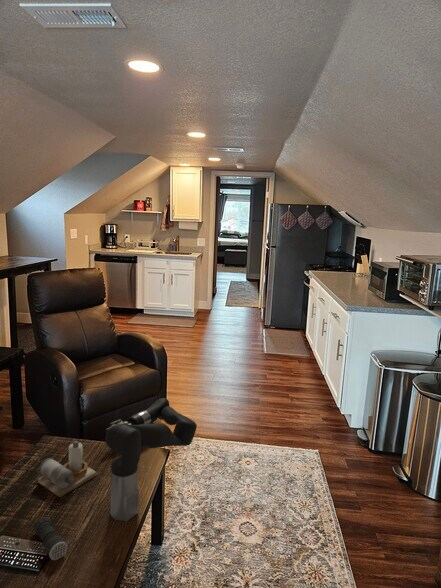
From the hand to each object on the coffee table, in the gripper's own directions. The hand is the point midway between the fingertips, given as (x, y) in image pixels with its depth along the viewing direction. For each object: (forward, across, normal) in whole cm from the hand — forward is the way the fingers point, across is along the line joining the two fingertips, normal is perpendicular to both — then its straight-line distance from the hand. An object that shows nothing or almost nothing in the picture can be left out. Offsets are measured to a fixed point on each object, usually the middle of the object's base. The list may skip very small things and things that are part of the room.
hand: (112, 435), depth 181 cm
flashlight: (+46, -24, -9) cm, 53 cm away
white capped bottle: (+20, 0, -7) cm, 21 cm away
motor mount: (+23, 0, -9) cm, 25 cm away
